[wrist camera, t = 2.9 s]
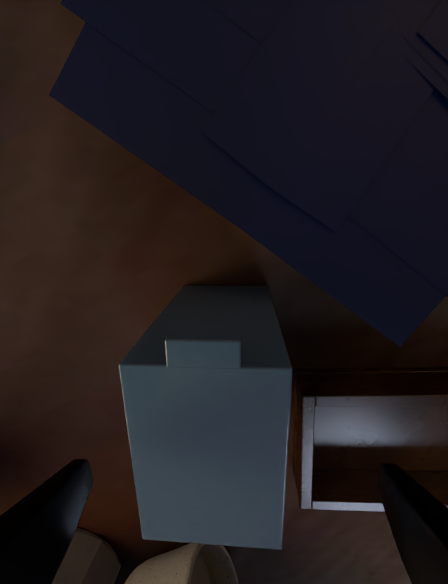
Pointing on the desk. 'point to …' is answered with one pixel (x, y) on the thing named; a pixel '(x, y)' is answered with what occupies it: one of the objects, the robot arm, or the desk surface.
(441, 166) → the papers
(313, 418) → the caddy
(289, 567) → the desk surface
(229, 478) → the tabbed grey block
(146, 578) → the ceramic mug
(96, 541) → the coffeepot
